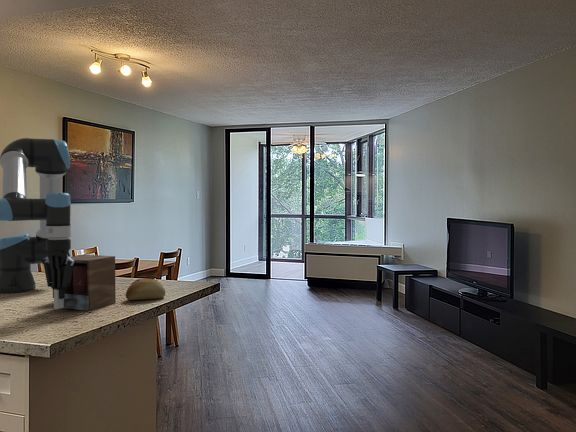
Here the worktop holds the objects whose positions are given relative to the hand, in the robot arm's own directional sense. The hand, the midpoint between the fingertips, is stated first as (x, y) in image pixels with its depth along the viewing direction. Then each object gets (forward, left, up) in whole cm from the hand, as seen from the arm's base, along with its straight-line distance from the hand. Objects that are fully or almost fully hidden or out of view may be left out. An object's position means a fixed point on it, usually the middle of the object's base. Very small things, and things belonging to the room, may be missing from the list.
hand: (58, 308), depth 160 cm
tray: (0, +10, -2) cm, 10 cm away
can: (0, +11, -1) cm, 11 cm away
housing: (0, +13, -2) cm, 13 cm away
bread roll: (+13, +29, -2) cm, 32 cm away
